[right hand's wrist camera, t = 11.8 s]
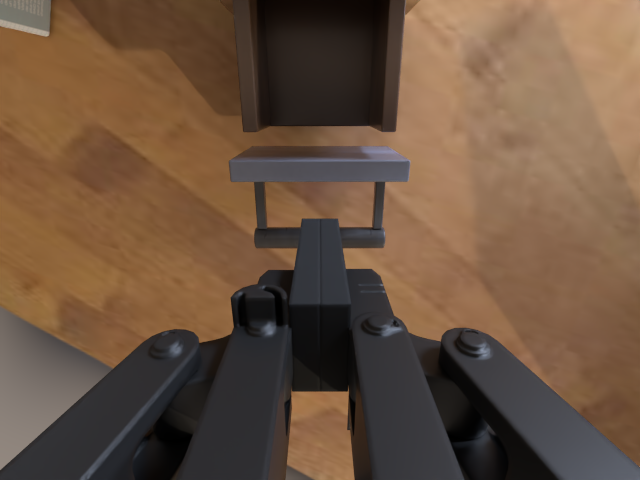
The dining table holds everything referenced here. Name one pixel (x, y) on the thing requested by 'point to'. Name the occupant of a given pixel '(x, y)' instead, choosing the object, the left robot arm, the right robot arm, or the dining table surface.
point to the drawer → (319, 98)
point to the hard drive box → (26, 15)
